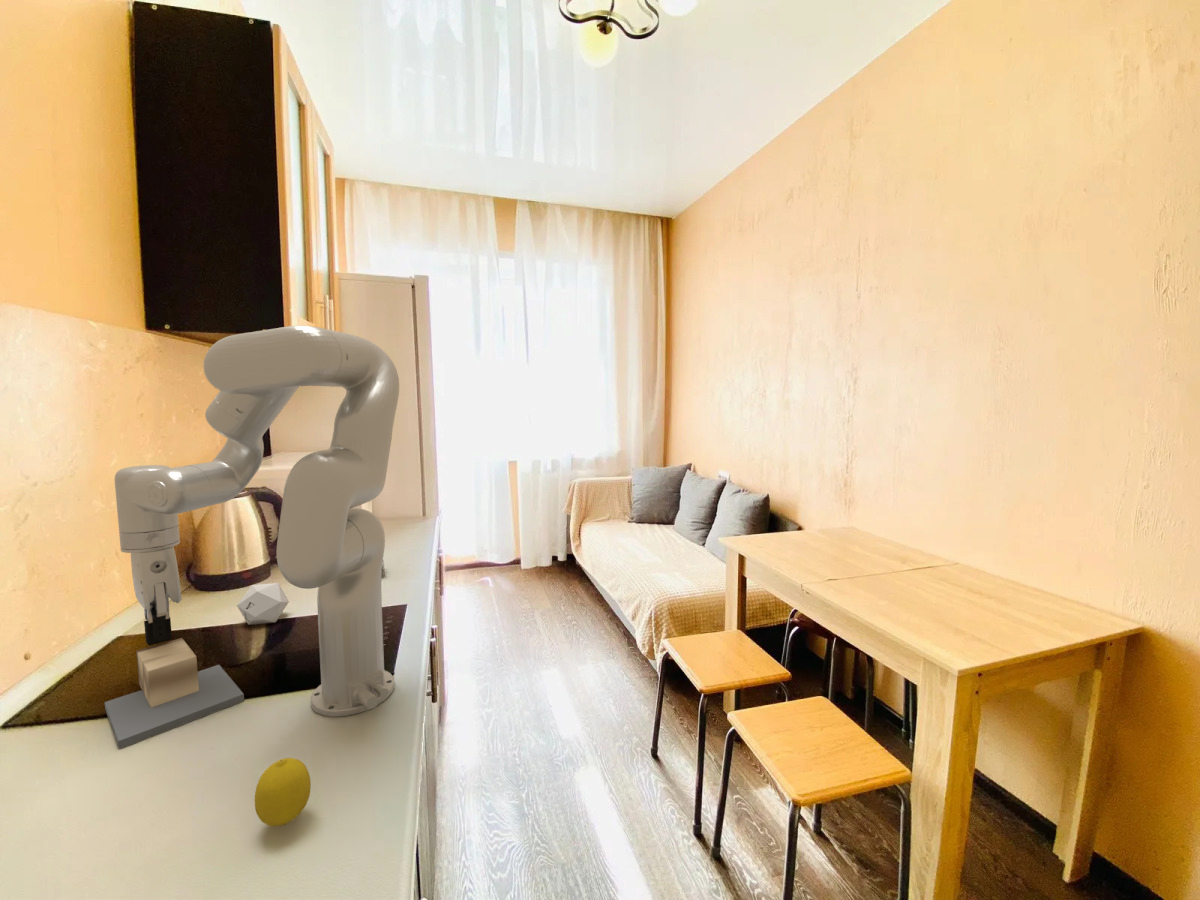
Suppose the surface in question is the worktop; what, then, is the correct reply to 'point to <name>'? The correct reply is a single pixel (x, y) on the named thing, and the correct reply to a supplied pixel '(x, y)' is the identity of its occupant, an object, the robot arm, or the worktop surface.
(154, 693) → the birch block
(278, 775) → the lemon
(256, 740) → the worktop surface
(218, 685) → the mat
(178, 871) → the worktop surface
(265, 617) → the die
